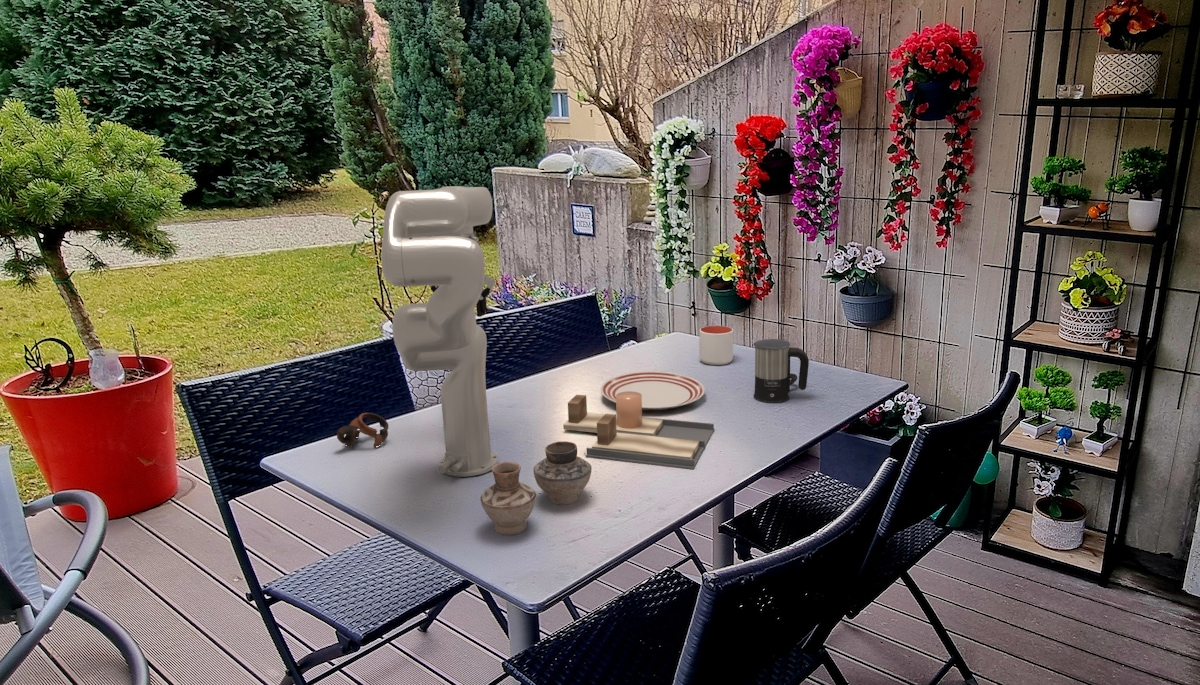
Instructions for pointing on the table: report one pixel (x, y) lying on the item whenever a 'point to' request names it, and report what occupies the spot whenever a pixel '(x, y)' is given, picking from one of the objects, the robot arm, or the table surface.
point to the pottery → (516, 500)
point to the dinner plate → (655, 389)
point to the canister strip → (588, 421)
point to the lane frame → (668, 430)
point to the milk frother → (777, 370)
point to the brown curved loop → (363, 430)
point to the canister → (629, 409)
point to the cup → (716, 345)
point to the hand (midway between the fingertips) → (463, 314)
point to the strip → (641, 441)
